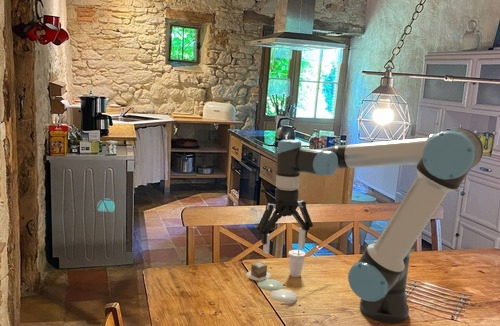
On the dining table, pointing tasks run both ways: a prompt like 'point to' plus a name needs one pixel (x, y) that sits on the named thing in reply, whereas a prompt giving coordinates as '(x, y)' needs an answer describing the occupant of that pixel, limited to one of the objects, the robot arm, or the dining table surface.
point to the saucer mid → (270, 284)
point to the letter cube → (258, 269)
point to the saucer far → (258, 278)
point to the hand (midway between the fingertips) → (284, 250)
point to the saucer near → (284, 296)
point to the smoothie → (296, 262)
